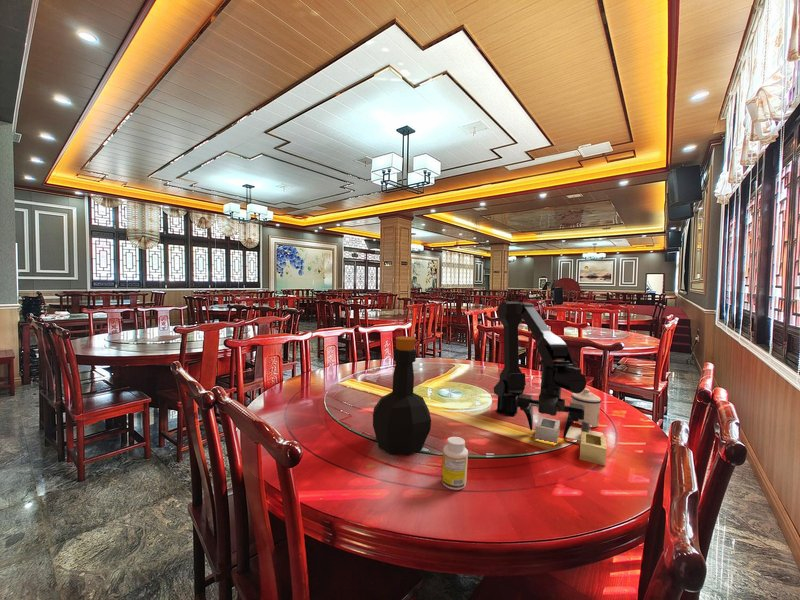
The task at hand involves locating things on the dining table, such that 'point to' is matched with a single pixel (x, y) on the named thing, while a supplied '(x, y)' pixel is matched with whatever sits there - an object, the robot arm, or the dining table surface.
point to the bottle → (402, 407)
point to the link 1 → (547, 429)
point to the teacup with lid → (588, 406)
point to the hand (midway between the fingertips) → (547, 433)
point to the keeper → (576, 432)
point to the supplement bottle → (455, 463)
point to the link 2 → (593, 448)
